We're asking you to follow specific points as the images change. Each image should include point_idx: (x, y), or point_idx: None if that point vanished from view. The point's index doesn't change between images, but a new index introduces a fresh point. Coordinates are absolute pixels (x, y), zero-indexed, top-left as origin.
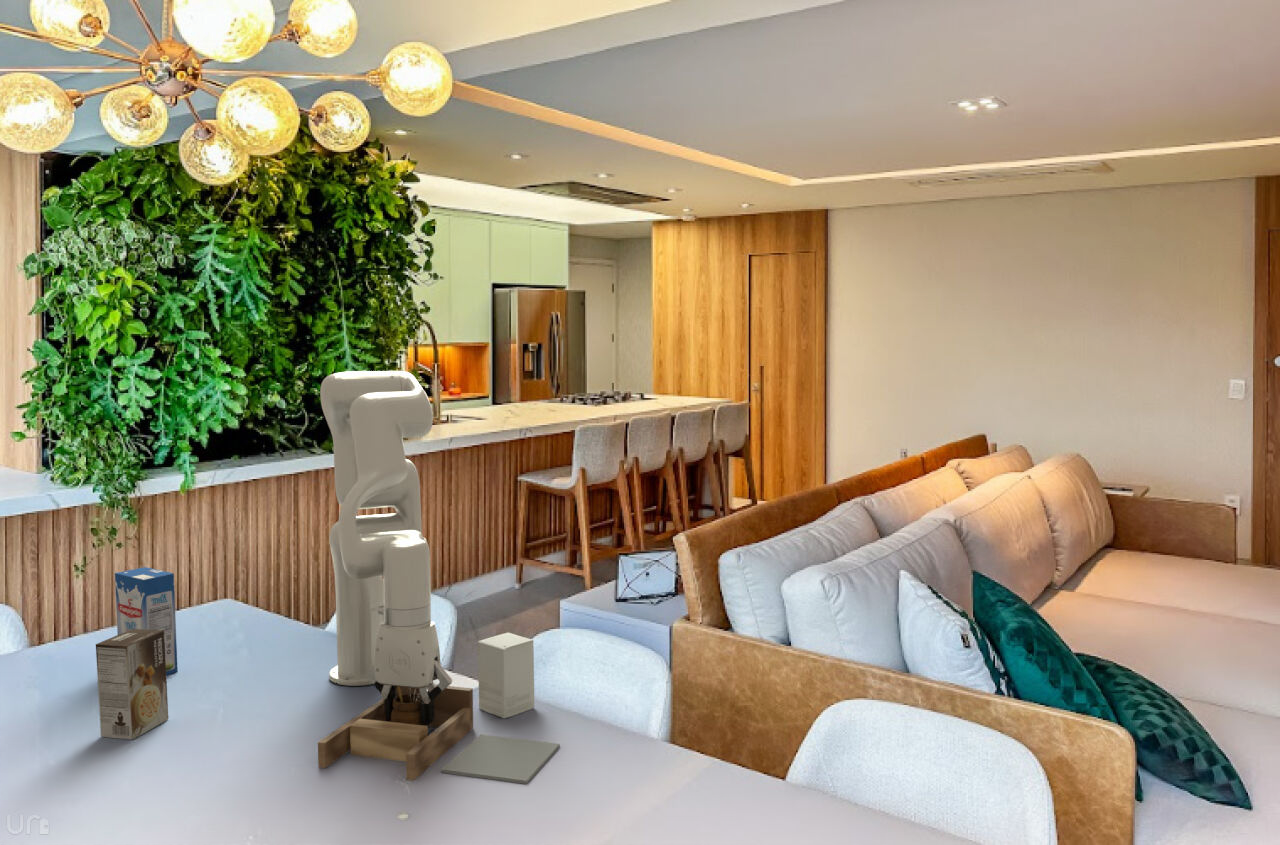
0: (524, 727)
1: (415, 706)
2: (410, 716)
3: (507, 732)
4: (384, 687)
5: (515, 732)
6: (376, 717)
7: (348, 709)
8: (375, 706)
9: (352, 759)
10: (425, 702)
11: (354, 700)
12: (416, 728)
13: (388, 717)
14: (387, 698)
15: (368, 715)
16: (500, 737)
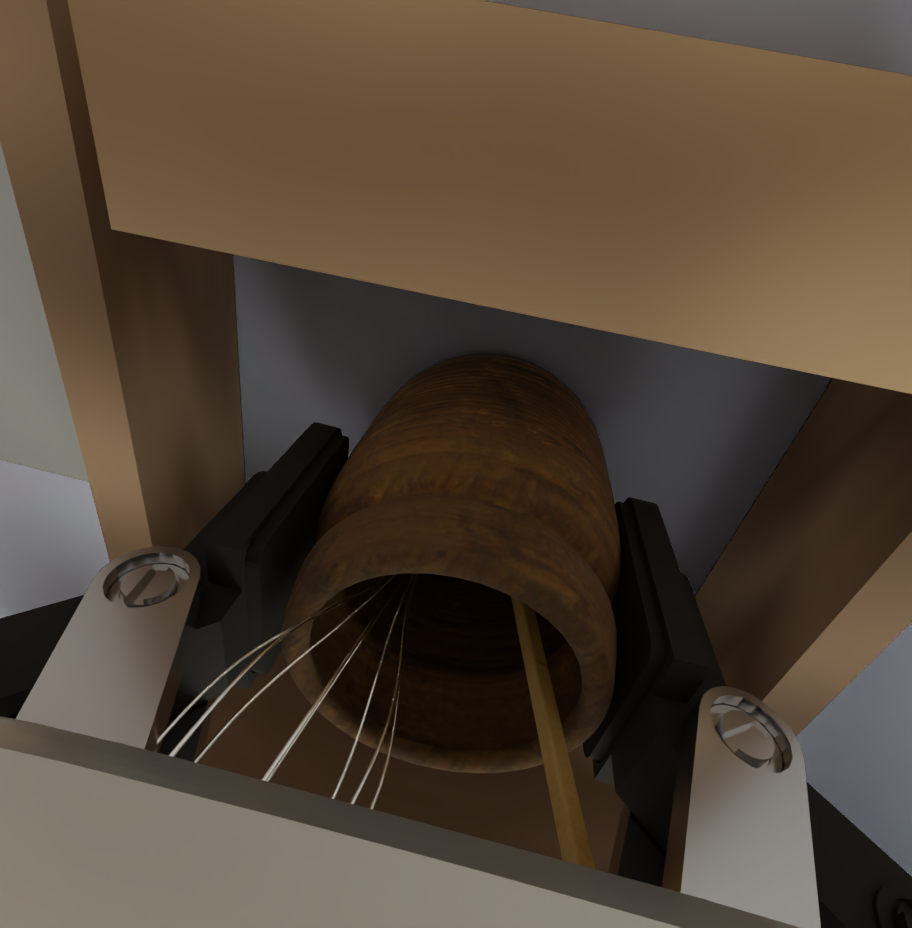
0: (24, 570)
1: (323, 541)
2: (393, 458)
3: (52, 527)
4: (790, 867)
5: (21, 527)
6: (748, 624)
7: (904, 777)
8: (784, 706)
9: (892, 33)
10: (184, 564)
11: (870, 839)
12: (180, 127)
13: (639, 524)
14: (692, 701)
15: (835, 591)
16: (2, 452)
